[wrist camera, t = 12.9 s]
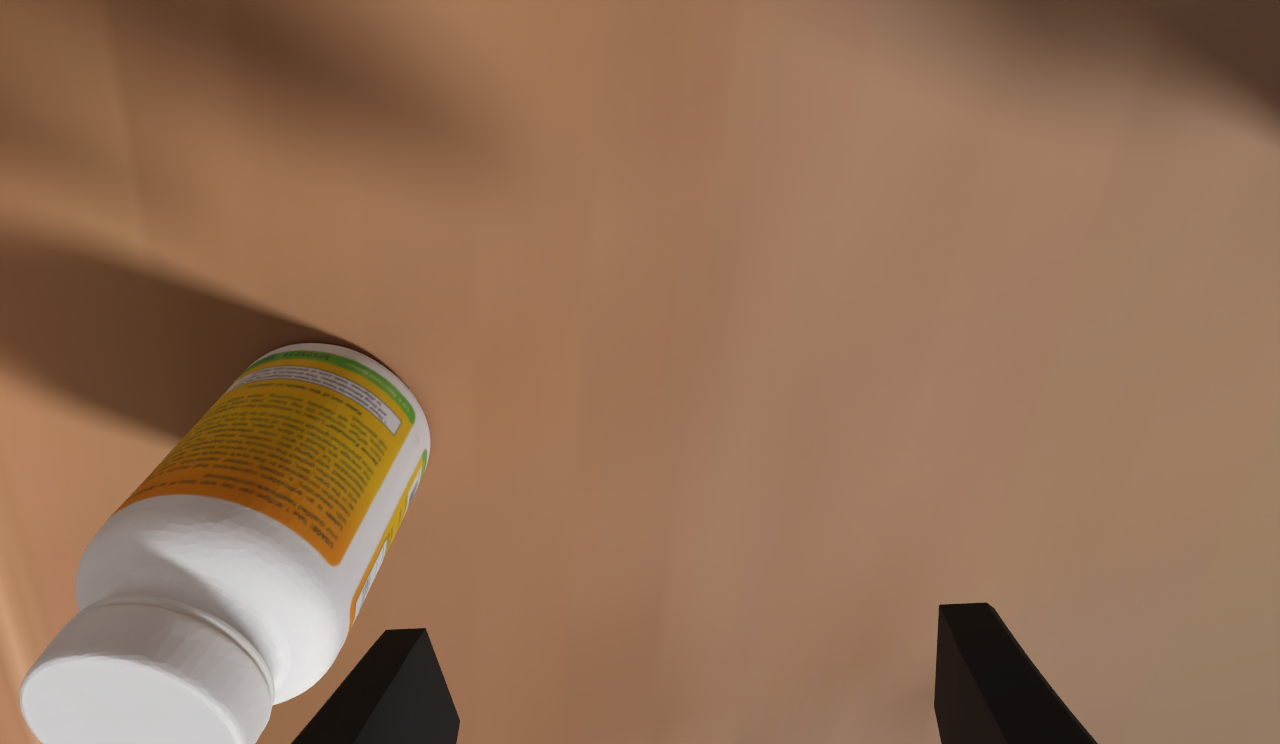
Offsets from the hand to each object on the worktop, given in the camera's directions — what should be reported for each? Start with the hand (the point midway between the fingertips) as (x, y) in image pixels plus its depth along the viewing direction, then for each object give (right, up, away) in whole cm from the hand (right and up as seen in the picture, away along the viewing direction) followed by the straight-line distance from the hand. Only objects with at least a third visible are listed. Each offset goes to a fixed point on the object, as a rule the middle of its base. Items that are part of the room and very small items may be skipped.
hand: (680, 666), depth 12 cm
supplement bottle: (-9, +3, +11) cm, 15 cm away
